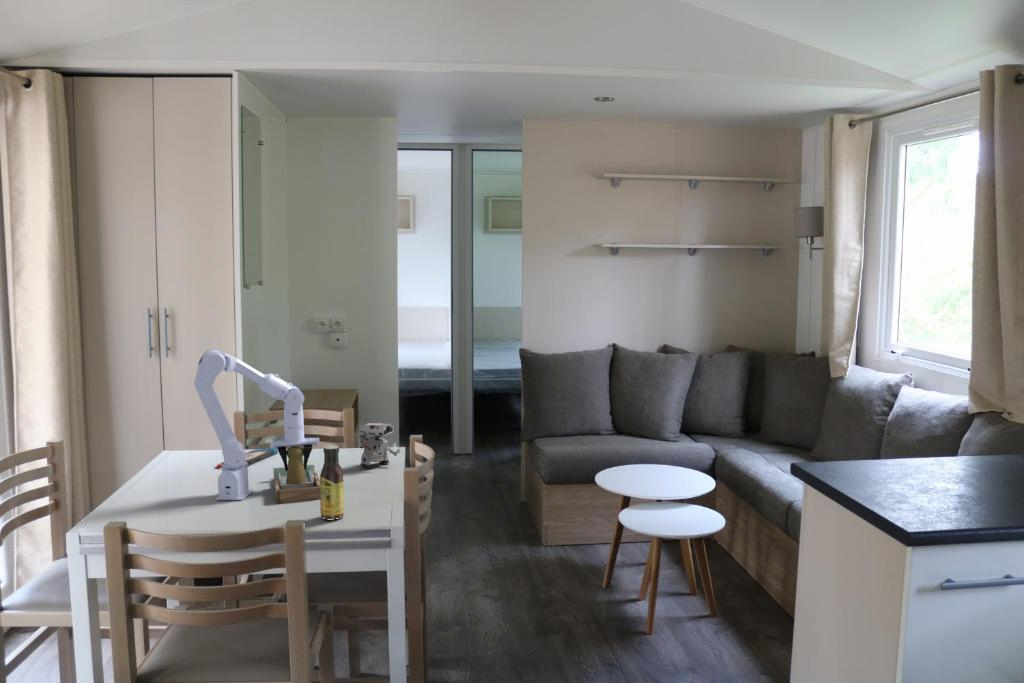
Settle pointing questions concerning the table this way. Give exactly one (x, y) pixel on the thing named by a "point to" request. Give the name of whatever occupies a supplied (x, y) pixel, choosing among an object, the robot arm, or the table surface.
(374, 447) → the figurine
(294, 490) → the caddy
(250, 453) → the gaming console
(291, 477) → the cork
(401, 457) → the table surface
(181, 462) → the table surface
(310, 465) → the drawer
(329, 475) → the sauce bottle
